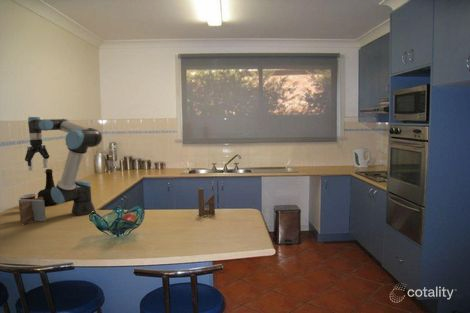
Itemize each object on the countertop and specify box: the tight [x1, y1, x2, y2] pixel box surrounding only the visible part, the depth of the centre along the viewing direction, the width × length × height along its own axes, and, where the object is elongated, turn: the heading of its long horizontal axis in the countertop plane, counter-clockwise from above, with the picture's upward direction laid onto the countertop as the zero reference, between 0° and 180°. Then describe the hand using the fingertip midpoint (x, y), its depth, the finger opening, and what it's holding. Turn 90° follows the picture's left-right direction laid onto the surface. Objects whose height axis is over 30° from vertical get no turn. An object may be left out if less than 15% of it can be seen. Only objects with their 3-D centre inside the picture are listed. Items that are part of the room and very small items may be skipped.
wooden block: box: [197, 187, 216, 217], centre depth 238 cm, size 4×11×18 cm, turn 98°
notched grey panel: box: [18, 199, 47, 222], centre depth 234 cm, size 18×2×14 cm, turn 77°
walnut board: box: [18, 197, 43, 225], centre depth 234 cm, size 2×18×14 cm, turn 167°
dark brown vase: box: [36, 168, 57, 206], centre depth 280 cm, size 18×18×28 cm
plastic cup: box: [18, 193, 37, 200], centre depth 259 cm, size 11×11×12 cm
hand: (38, 169), depth 251 cm, fingers open, 13 cm apart
